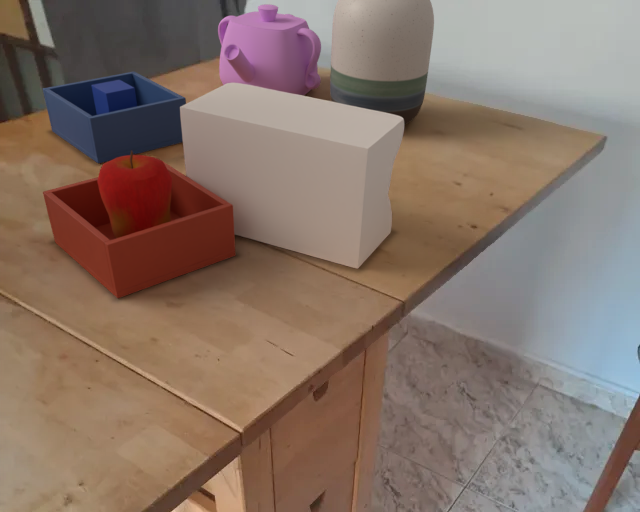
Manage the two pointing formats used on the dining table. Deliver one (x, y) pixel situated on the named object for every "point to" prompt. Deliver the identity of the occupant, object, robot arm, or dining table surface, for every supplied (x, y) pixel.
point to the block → (113, 96)
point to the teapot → (269, 51)
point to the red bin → (142, 235)
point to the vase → (381, 54)
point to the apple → (135, 193)
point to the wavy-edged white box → (295, 168)
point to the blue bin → (115, 118)
